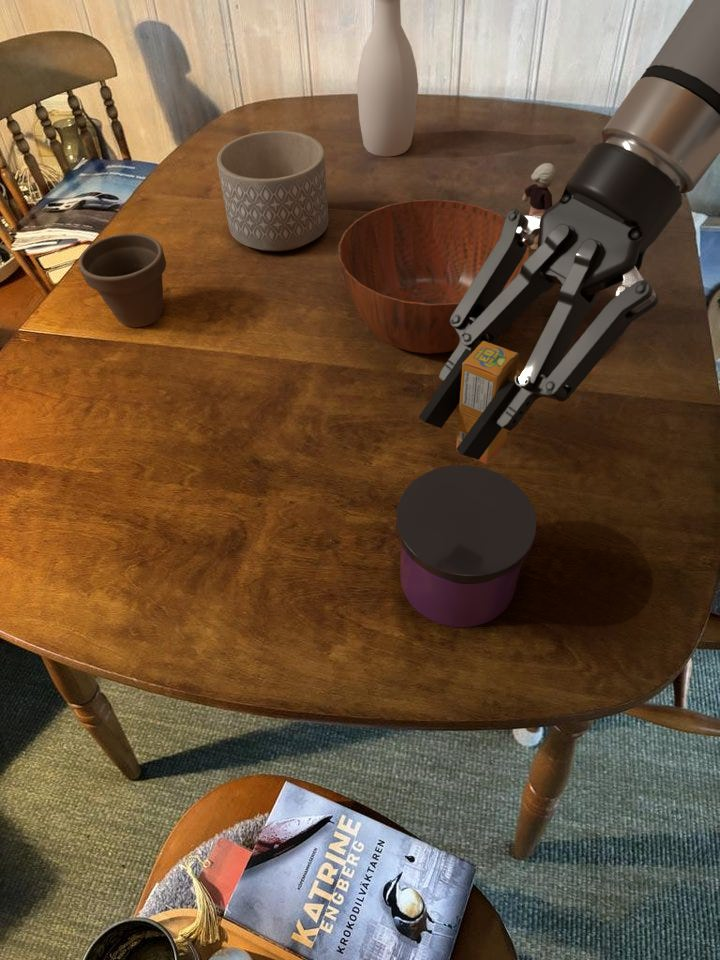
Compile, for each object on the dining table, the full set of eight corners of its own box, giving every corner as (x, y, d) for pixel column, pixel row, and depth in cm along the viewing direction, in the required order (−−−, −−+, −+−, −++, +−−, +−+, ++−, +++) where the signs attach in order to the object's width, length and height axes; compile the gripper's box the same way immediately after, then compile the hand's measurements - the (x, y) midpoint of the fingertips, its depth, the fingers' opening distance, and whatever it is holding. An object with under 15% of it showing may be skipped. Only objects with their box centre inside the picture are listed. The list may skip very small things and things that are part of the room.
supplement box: (471, 426, 63) (484, 336, 55) (506, 443, 61) (524, 353, 54) (451, 450, 61) (462, 360, 53) (486, 467, 60) (503, 378, 52)
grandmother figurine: (558, 247, 114) (574, 169, 104) (540, 256, 112) (555, 177, 103) (525, 227, 118) (537, 150, 108) (507, 234, 117) (518, 157, 107)
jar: (534, 547, 77) (550, 486, 69) (501, 650, 69) (516, 595, 61) (419, 512, 80) (423, 450, 73) (376, 606, 73) (375, 549, 65)
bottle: (402, 164, 133) (405, 7, 114) (348, 153, 136) (342, -1, 117) (425, 139, 139) (431, -15, 120) (373, 129, 143) (371, -22, 123)
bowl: (390, 399, 92) (390, 328, 84) (314, 296, 107) (308, 226, 98) (552, 343, 99) (568, 271, 90) (460, 253, 114) (466, 183, 105)
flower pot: (83, 320, 105) (59, 259, 97) (142, 283, 111) (124, 223, 103) (136, 349, 100) (115, 288, 92) (194, 309, 106) (179, 248, 98)
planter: (342, 244, 116) (338, 167, 106) (243, 266, 113) (230, 189, 103) (311, 197, 126) (305, 123, 116) (220, 216, 123) (206, 141, 113)
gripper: (755, 240, 49) (544, 508, 55) (569, 152, 58) (405, 392, 64) (738, 191, 43) (503, 498, 49) (533, 101, 52) (356, 371, 58)
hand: (448, 437), depth 57 cm, fingers closed on supplement box, 4 cm apart
